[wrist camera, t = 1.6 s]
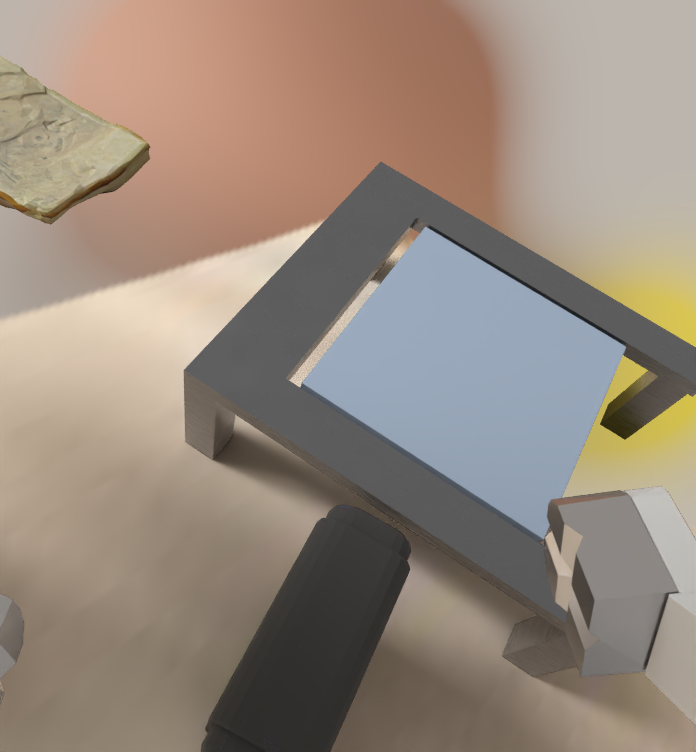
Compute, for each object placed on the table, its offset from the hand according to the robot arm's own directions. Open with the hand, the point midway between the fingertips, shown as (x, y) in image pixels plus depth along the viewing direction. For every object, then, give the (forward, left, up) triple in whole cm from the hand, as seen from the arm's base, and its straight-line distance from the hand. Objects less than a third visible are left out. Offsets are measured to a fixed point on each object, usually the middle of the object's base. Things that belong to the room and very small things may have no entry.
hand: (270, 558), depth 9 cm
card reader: (+2, +2, -27) cm, 28 cm away
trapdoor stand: (+2, +20, -27) cm, 34 cm away
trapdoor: (+2, +20, -20) cm, 28 cm away
